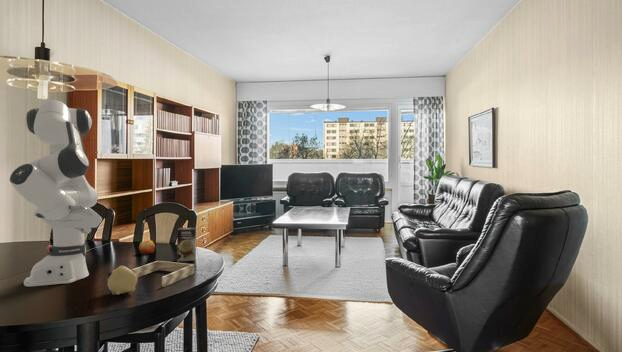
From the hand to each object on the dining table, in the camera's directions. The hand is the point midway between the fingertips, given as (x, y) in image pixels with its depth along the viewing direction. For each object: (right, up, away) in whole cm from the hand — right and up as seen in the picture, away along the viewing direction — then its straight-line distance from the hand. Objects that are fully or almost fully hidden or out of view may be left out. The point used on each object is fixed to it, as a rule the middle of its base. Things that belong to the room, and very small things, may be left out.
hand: (87, 231), depth 127 cm
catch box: (+13, -24, +30) cm, 41 cm away
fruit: (-12, -23, +73) cm, 78 cm away
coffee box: (+14, -24, +60) cm, 66 cm away
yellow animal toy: (+7, -25, +10) cm, 28 cm away
